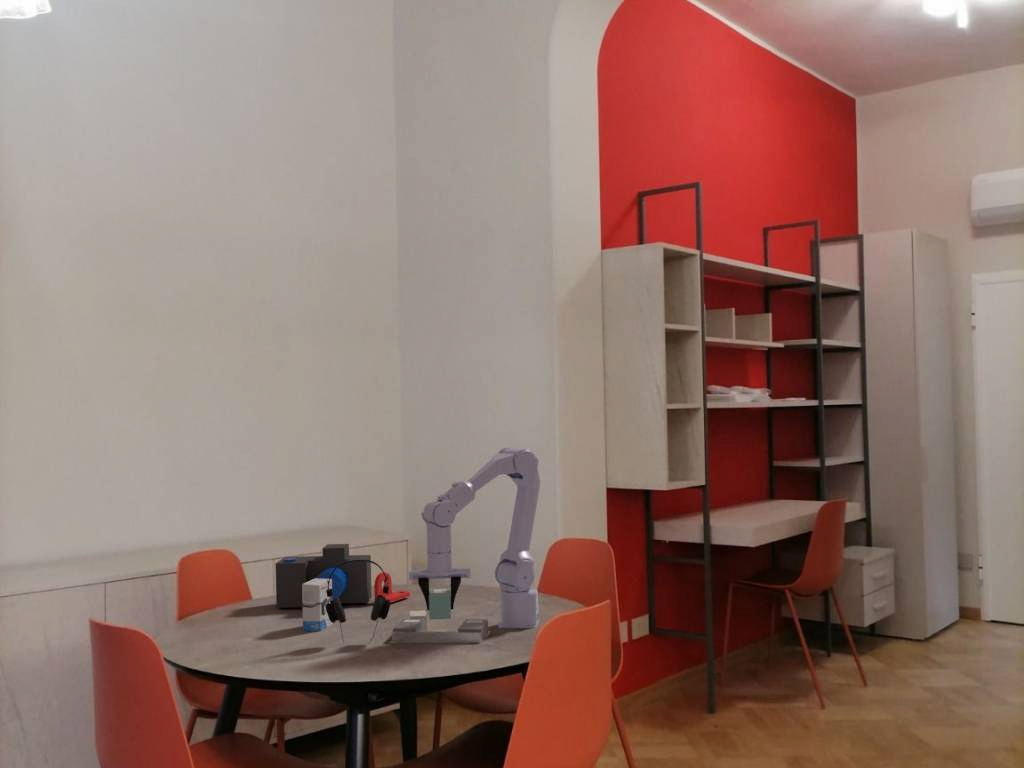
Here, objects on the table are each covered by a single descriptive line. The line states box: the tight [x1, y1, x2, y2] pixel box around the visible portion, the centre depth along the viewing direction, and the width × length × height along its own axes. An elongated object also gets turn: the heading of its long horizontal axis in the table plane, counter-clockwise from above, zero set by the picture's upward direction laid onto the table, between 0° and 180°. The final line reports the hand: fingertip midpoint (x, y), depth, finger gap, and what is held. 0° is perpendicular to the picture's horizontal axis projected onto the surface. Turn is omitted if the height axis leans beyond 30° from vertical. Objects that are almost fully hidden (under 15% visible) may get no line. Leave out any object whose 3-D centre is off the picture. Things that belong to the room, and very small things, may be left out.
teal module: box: [428, 587, 452, 621], centre depth 223 cm, size 5×8×6 cm, turn 3°
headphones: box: [325, 559, 391, 643], centre depth 222 cm, size 15×11×20 cm
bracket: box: [373, 571, 411, 604], centre depth 271 cm, size 12×4×8 cm, turn 152°
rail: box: [391, 630, 483, 644], centre depth 218 cm, size 21×1×2 cm, turn 82°
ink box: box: [302, 578, 334, 632], centre depth 238 cm, size 8×5×12 cm, turn 168°
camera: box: [275, 543, 373, 609], centre depth 266 cm, size 25×16×16 cm, turn 90°
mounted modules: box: [392, 618, 489, 642], centre depth 223 cm, size 21×10×3 cm, turn 82°
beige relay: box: [409, 609, 428, 630], centre depth 234 cm, size 4×6×4 cm, turn 7°
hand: (440, 609), depth 223 cm, fingers closed on teal module, 5 cm apart
